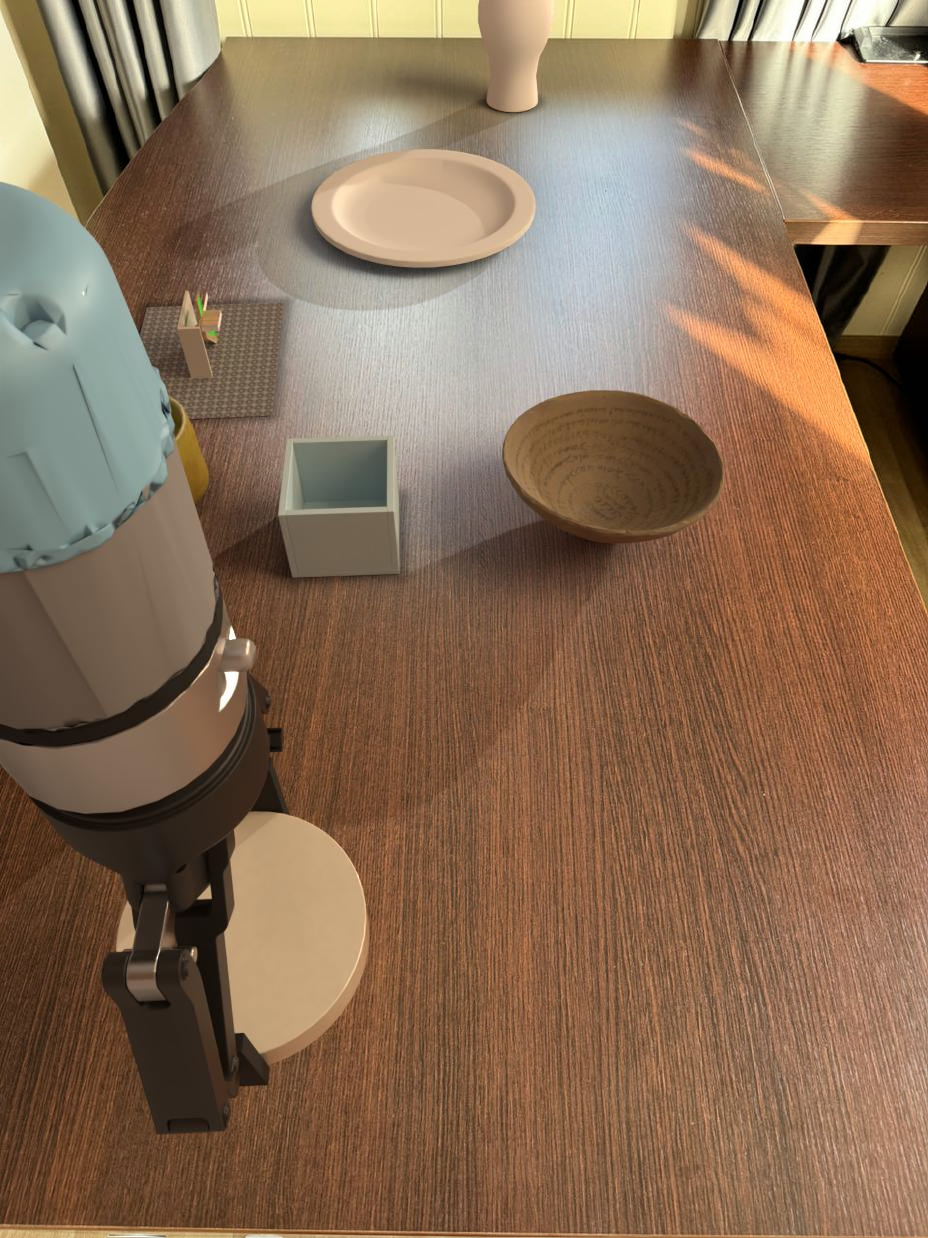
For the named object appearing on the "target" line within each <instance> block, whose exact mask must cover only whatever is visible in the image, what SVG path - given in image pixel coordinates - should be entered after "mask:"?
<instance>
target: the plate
mask: <svg viewBox="0 0 928 1238" xmlns="http://www.w3.org/2000/svg"><path fill="white" fill-rule="evenodd" d="M311 200H312V201H311V206H310V208H311V209H310V210H311V215H312V221H313V224H314V226H315V228H316V230H317V231H318V232H319V234H320V235H321V236H322V237H323V238H324V240H326V241H327V242H328V243H329V244H331V245H332V246H333V247H335V248H337V249H339V250H340V251H343V252H344V253H346V254H347V255H351V256H353V257H355V258H358V259H361V260H363V261H368V262H372V263H376V264H380V265H386V266H392V267H399V268H400V267H402V268H403V267H404V268H414V269H417V268H439V267H448V266H449V267H451V266H455V265H456V266H457V265H461V264H467V263H471V262H474V261H478V260H482V259H484V258H487V257H490V256H492V255H494V254H497V253H500V252H501V251H504V250H505V249H507V248H508V247H510V246H512V245H513V244H514V243H516V242H517V241H519V239H521V238H522V237H523V236H524V235H525V234H526V232H527V231H528V230H529V228H530V227H531V226H532V224H533V221H534V219H535V214H536V199H535V194H534V192H533V190H532V188H531V186H530V185H529V183H528V182H527V181H526V180H525V179H524V178H523V177H522V176H521V175H520V174H518V173H517V172H516V171H514V170H513V169H511V168H510V167H508V166H507V165H504V164H503V163H500V162H498V161H496V160H493V159H490V158H488V157H484V156H481V155H478V154H472V153H468V152H463V151H457V150H450V149H432V148H426V149H425V148H423V149H422V148H417V149H416V148H415V149H405V150H397V151H390V152H383V153H380V154H376V155H371V156H368V157H365V158H362V159H359V160H357V161H354V162H351V163H349V164H347V165H345V166H343V167H341V168H340V169H337V170H336V171H335V172H333V173H331V175H329V176H328V177H326V178H325V180H323V181H322V182H321V183H320V185H319V186H318V188H317V189H316V190H315V192H314V195H313V197H312V199H311Z"/></svg>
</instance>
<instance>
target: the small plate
mask: <svg viewBox="0 0 928 1238" xmlns="http://www.w3.org/2000/svg"><path fill="white" fill-rule="evenodd" d="M234 833H235V849H234V852H233V854H232V857H231V859H230V862H231V872H232V882H233V892H234V902H235V905H234V910H233V913H232V916H231V919H230V921H229V924H228V927H227V929H226V930H225V932H224V935H225V945H226V954H227V964H228V974H229V983H230V993H231V1003H232V1012H233V1022H234V1032H235V1033H245V1035H246V1036H247V1037H248V1039H249V1040H250V1041H251V1043H252V1044H253V1046H254V1047H255V1048H256V1050H257V1051H258V1052H259V1054H260V1055H261V1056H262V1058H263V1059H264V1060H265V1062H266V1063H267V1064H268V1066H269V1065H272V1064H273V1065H274V1064H275V1063H278V1062H280V1061H283V1060H285V1059H287V1058H289V1057H291V1056H294V1055H295V1054H297V1053H298V1052H300V1051H302V1050H304V1049H306V1048H307V1047H308V1046H309V1045H311V1044H312V1043H314V1042H315V1041H317V1040H318V1039H319V1038H320V1037H321V1036H323V1034H325V1032H327V1030H329V1028H331V1027H332V1026H333V1024H334V1023H335V1022H336V1021H337V1020H338V1019H339V1017H340V1016H341V1015H342V1014H343V1012H344V1011H345V1009H346V1008H347V1006H348V1004H349V1003H350V1001H351V1000H352V998H353V996H354V994H355V992H356V990H357V989H358V986H359V984H360V982H361V979H362V976H363V974H364V971H365V968H366V964H367V959H368V954H369V946H370V937H371V936H370V919H369V918H370V917H369V912H368V908H367V902H366V897H365V892H364V888H363V886H362V885H363V884H362V881H361V878H360V876H359V874H358V872H357V870H356V867H355V866H354V864H353V861H352V860H351V859H350V857H349V856H348V854H347V852H346V851H345V850H344V849H343V848H342V846H341V845H340V844H339V843H338V842H337V841H336V840H335V839H334V838H332V837H331V836H330V835H329V834H328V833H327V832H325V831H324V830H323V829H321V828H320V827H318V826H316V825H315V824H313V823H311V822H308V821H306V820H304V819H303V818H302V819H301V818H300V817H296V816H293V815H291V814H290V815H286V814H281V813H275V812H261V811H253V812H249V813H248V814H247V816H246V817H245V818H244V819H243V820H242V822H241V823H240V824H239V825H238V826H237V827H236V828H235V829H234ZM197 899H212V897H211V887H210V886H209V887H208V888H207V889H206V890H205V891H204V892H203V893H202V894H201V895H200V896H199V897H198V898H197ZM135 932H136V931H135V928H134V924H133V917H132V909H131V906H130V904H129V902H128V900H127V899H126V902H125V905H124V907H123V909H122V912H121V916H120V920H119V923H118V927H117V933H116V940H115V952H122V951H123V950H124V949H132V947H133V942H134V937H135Z"/></svg>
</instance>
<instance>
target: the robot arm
mask: <svg viewBox="0 0 928 1238" xmlns="http://www.w3.org/2000/svg"><path fill="white" fill-rule="evenodd" d="M174 428H175V424H174V421H173V419H172V416H171V407H170V401H169V397H168V393H167V390H166V386H165V384H164V383H163V382H162V381H161V377H160V374H159V370H158V369H157V368H155V367H154V366H152V365H151V363H150V360H149V358H148V355H147V353H146V350H145V348H144V346H143V343H142V341H141V338H140V333H139V330H138V329H137V326H136V324H135V321H134V319H133V316H132V314H131V310H130V309H129V307H128V304H127V301H126V299H125V297H124V294H123V292H122V289H121V287H120V284H119V281H118V279H117V277H116V275H115V271H114V270H113V268H112V265H111V263H110V261H109V259H108V257H107V255H106V253H105V251H104V249H103V248H102V247H101V245H100V244H99V242H98V241H97V240H96V239H95V238H94V236H93V235H92V234H91V233H90V232H89V231H88V230H87V229H86V228H85V227H84V225H83V224H81V222H80V221H79V220H78V219H77V218H76V217H74V216H73V215H72V214H71V213H69V212H68V211H66V210H65V209H64V208H62V207H61V206H59V205H58V204H56V203H54V202H53V201H52V200H50V199H49V198H46V197H45V196H42V195H40V194H38V193H36V192H34V191H32V190H29V189H26V188H24V187H21V186H18V185H15V184H11V183H7V182H4V181H0V765H1V767H2V769H4V770H5V772H6V773H7V774H8V775H9V776H10V777H11V778H12V779H13V780H14V781H15V783H16V784H17V785H18V786H19V787H20V788H21V789H22V790H23V791H24V792H25V794H26V795H27V797H29V799H30V801H31V802H32V803H33V804H34V806H35V807H36V808H37V809H38V810H39V811H40V813H41V814H42V815H43V816H44V818H46V820H47V821H48V822H49V824H50V825H51V827H53V829H54V830H55V831H56V832H57V833H58V835H59V836H60V837H61V838H62V840H64V842H65V843H67V844H68V845H69V846H70V847H71V848H72V849H73V850H75V851H76V852H77V853H78V854H80V855H82V856H83V857H85V858H87V859H89V860H91V861H92V862H94V863H96V864H98V865H100V866H103V867H105V868H107V869H108V870H111V871H113V872H115V873H116V874H118V875H120V877H121V880H122V883H123V887H124V892H125V897H126V901H127V900H128V902H129V904H130V906H131V909H132V917H133V924H134V928H135V931H136V932H135V937H134V942H133V947H132V949H124V950H123V951H122V952H116V951H110V952H108V953H107V954H106V956H105V958H104V960H103V964H102V968H101V983H102V988H103V990H104V992H105V994H106V995H107V996H109V998H110V1000H112V1001H113V1003H114V1004H116V1006H117V1007H118V1008H119V1010H120V1014H121V1017H122V1021H123V1024H124V1027H125V1030H126V1034H127V1037H128V1041H129V1045H130V1048H131V1051H132V1055H133V1058H134V1061H135V1065H136V1068H137V1071H138V1075H139V1079H140V1081H141V1085H142V1088H143V1091H144V1095H145V1098H146V1099H145V1100H146V1102H147V1105H148V1109H149V1113H150V1116H151V1119H152V1122H153V1126H154V1129H155V1133H156V1134H157V1135H180V1134H181V1135H182V1134H199V1133H200V1134H201V1133H202V1134H203V1133H216V1132H217V1133H218V1132H226V1129H227V1128H228V1126H229V1121H230V1119H231V1114H232V1107H231V1104H230V1102H229V1101H230V1099H236V1098H237V1097H238V1096H239V1092H240V1087H259V1086H262V1087H263V1086H269V1080H270V1066H269V1065H268V1064H267V1063H266V1062H265V1060H264V1059H263V1058H262V1056H261V1055H260V1054H259V1052H258V1051H257V1050H256V1048H255V1047H254V1046H253V1044H252V1043H251V1041H250V1040H249V1039H248V1037H247V1036H246V1035H245V1033H235V1032H234V1022H233V1012H232V1003H231V993H230V983H229V974H228V964H227V954H226V945H225V935H224V932H225V930H226V929H227V927H228V924H229V921H230V919H231V916H232V913H233V910H234V905H235V902H234V892H233V882H232V872H231V862H230V859H231V857H232V854H233V852H234V849H235V833H234V829H235V828H236V827H237V826H238V825H239V824H240V823H241V822H242V820H243V819H244V818H245V817H246V816H247V814H248V813H249V812H253V811H261V812H275V813H281V814H286V815H290V816H291V814H290V811H289V808H288V805H287V802H286V799H285V796H284V793H283V790H282V787H281V784H280V781H279V778H278V775H277V771H276V768H275V765H274V762H273V759H272V757H271V753H283V751H284V745H285V744H284V743H285V738H284V737H285V736H284V730H283V727H267V726H266V721H265V719H264V716H263V715H268V714H269V711H270V708H271V706H272V697H271V695H269V690H267V688H266V687H264V686H263V684H262V683H260V682H259V680H257V679H256V678H255V677H254V676H253V675H252V674H251V673H250V672H249V671H248V670H250V669H252V668H253V667H254V665H255V664H256V663H257V661H258V653H257V652H258V651H257V647H256V645H255V642H254V641H253V640H251V639H249V638H244V637H238V638H237V637H236V634H235V631H234V629H233V626H232V623H231V620H230V617H229V613H228V611H227V610H228V609H227V605H226V603H225V599H224V596H223V591H222V588H221V585H220V580H219V578H218V575H217V573H216V572H215V571H216V570H215V567H214V564H213V560H212V556H211V553H210V550H209V547H208V543H207V540H206V537H205V534H204V530H203V527H202V524H201V520H200V517H199V515H198V511H197V508H196V506H195V504H194V501H193V497H192V494H191V491H190V487H189V484H188V481H187V478H186V474H185V471H184V468H183V464H182V461H181V458H180V454H179V451H178V447H177V443H176V440H175V436H174ZM209 886H210V887H211V897H212V899H197V898H198V897H199V896H200V895H201V894H202V893H203V892H204V891H205V890H206V889H207V888H208V887H209Z"/></svg>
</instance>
